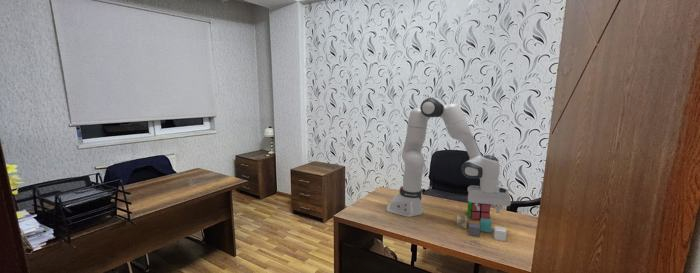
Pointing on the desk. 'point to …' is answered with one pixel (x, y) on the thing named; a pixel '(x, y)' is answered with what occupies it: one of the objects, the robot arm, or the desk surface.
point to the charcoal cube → (474, 229)
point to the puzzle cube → (475, 214)
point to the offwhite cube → (500, 233)
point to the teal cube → (485, 225)
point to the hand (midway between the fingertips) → (488, 211)
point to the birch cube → (461, 221)
